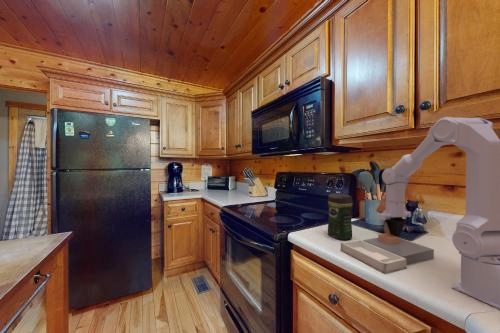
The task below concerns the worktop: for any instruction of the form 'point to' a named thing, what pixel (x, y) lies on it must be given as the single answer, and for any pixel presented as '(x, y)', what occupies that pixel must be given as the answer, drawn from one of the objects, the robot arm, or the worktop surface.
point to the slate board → (405, 250)
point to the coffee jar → (340, 216)
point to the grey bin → (363, 248)
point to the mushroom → (380, 209)
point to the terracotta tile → (388, 238)
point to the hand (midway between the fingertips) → (394, 237)
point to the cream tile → (379, 257)
